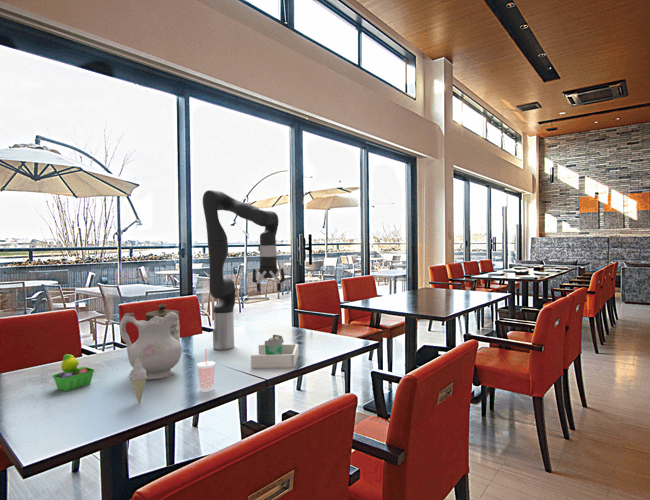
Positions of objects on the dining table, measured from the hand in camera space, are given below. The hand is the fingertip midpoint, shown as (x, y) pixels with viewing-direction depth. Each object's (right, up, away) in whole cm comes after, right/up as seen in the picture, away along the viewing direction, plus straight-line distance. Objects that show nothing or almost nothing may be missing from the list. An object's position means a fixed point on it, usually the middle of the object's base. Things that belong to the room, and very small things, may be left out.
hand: (268, 291), depth 190 cm
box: (+4, -28, -11) cm, 31 cm away
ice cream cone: (-34, -30, -55) cm, 72 cm away
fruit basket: (-65, -31, -38) cm, 81 cm away
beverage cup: (-16, -30, -44) cm, 55 cm away
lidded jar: (-51, -29, +10) cm, 60 cm away
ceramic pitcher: (-41, -30, -27) cm, 58 cm away
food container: (+5, -29, -11) cm, 31 cm away
